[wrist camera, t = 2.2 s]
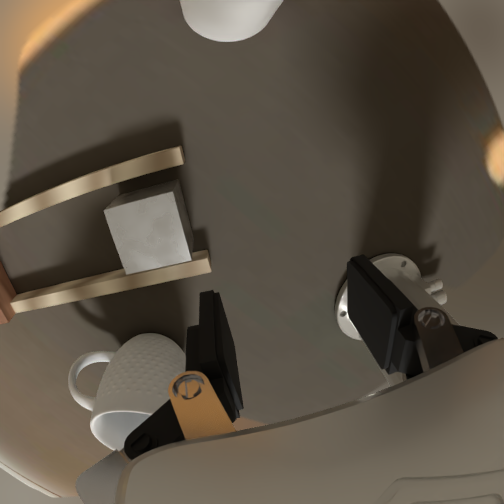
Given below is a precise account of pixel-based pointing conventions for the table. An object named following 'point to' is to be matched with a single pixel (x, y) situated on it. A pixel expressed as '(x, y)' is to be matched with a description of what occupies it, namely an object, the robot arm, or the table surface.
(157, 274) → the u-shaped frame
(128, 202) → the block
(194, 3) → the cup
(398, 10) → the table surface
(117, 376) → the mug
